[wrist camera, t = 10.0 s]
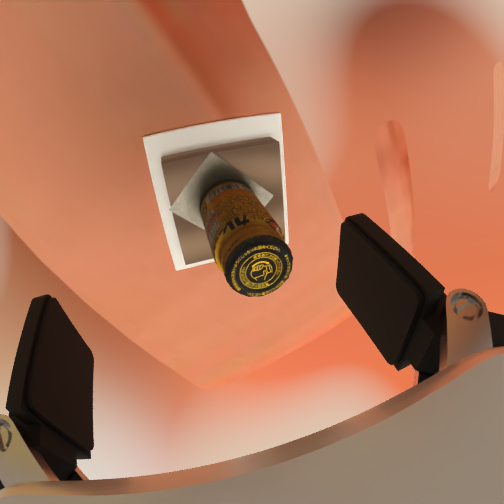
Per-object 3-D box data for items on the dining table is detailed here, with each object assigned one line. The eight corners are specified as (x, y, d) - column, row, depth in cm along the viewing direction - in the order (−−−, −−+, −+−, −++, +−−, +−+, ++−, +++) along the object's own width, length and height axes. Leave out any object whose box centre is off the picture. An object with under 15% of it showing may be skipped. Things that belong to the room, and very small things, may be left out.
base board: (143, 136, 30) (142, 138, 29) (278, 112, 32) (280, 113, 32) (175, 267, 39) (176, 270, 38) (286, 240, 42) (288, 243, 41)
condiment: (232, 245, 35) (265, 317, 25) (169, 209, 31) (176, 278, 21) (273, 194, 33) (324, 251, 23) (210, 150, 29) (240, 193, 19)
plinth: (161, 156, 31) (161, 164, 28) (269, 136, 33) (279, 141, 30) (183, 251, 37) (185, 265, 35) (276, 229, 39) (285, 241, 37)
